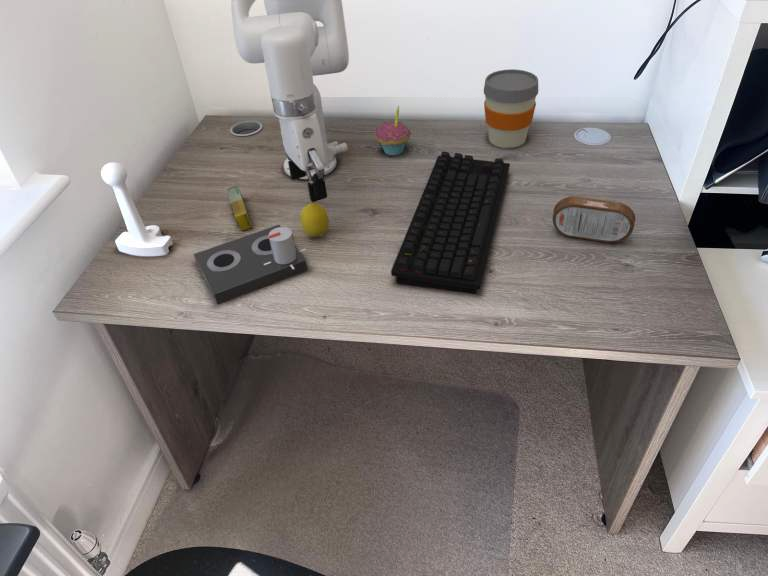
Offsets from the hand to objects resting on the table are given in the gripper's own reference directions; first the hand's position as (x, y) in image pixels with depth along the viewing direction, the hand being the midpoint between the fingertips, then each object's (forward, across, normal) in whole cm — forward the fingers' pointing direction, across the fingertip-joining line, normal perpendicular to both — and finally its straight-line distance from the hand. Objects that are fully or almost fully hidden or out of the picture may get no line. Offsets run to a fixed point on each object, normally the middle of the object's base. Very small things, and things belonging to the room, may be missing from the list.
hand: (308, 188), depth 118 cm
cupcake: (+11, +23, -30) cm, 40 cm away
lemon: (+12, +1, 0) cm, 12 cm away
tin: (+12, -29, -45) cm, 55 cm away
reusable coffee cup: (+11, +12, -56) cm, 59 cm away
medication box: (+12, +17, +11) cm, 23 cm away
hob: (+12, -1, +15) cm, 19 cm away
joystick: (+12, +18, +31) cm, 37 cm away
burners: (+9, 0, +15) cm, 18 cm away
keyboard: (+12, -11, -26) cm, 31 cm away
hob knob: (+9, -5, +9) cm, 14 cm away
